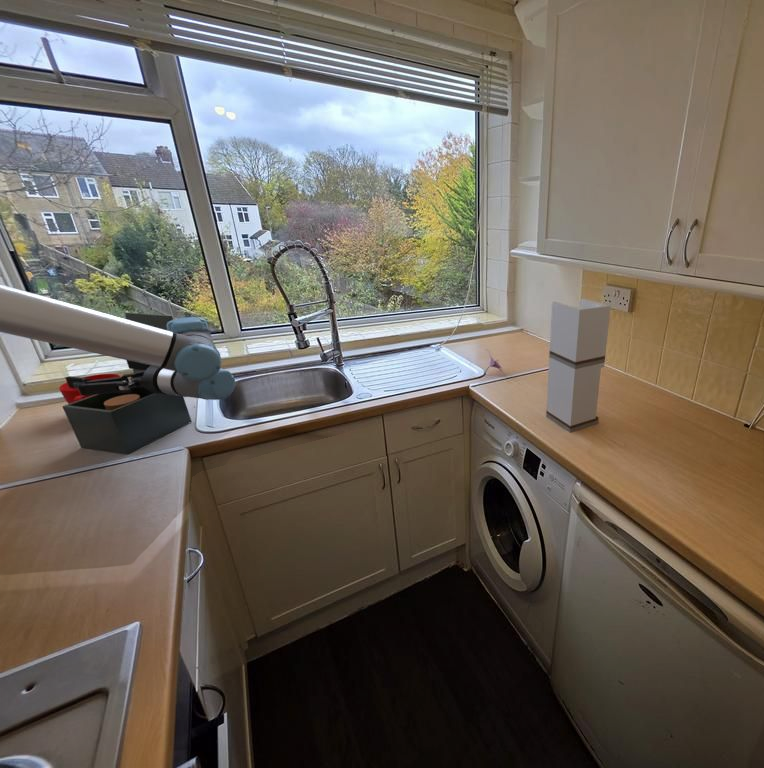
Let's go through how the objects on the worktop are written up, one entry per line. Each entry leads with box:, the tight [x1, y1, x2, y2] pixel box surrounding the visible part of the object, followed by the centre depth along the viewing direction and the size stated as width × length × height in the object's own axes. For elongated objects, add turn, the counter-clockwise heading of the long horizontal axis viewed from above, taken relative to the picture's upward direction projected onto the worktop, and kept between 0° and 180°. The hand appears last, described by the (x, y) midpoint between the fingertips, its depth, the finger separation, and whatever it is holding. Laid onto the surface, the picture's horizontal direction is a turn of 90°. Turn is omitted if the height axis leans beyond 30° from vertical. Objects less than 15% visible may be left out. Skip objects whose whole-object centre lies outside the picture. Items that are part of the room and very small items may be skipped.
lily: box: [483, 348, 505, 376], centre depth 154 cm, size 12×12×10 cm
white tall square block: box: [545, 298, 612, 433], centre depth 115 cm, size 11×11×35 cm
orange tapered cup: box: [104, 394, 141, 410], centre depth 107 cm, size 7×7×10 cm
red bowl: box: [58, 373, 122, 404], centre depth 118 cm, size 13×17×10 cm
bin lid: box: [124, 312, 174, 373], centre depth 112 cm, size 18×15×1 cm
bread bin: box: [62, 381, 192, 455], centre depth 108 cm, size 18×15×12 cm
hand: (100, 372), depth 103 cm, fingers open, 13 cm apart
